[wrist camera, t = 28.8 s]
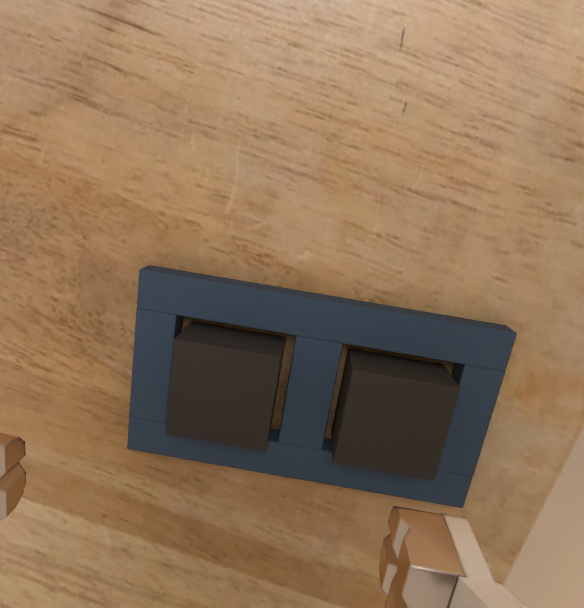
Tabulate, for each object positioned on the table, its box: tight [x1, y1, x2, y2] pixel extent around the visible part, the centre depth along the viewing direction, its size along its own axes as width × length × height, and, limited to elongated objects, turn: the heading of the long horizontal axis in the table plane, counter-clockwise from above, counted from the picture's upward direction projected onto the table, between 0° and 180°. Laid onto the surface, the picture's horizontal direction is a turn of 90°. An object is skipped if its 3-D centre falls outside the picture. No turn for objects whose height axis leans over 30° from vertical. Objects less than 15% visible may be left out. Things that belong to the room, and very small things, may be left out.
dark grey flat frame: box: [127, 265, 517, 508], centre depth 27 cm, size 22×12×2 cm, turn 81°
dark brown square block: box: [165, 321, 286, 452], centre depth 26 cm, size 6×6×4 cm
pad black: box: [331, 348, 460, 481], centre depth 26 cm, size 6×6×4 cm
